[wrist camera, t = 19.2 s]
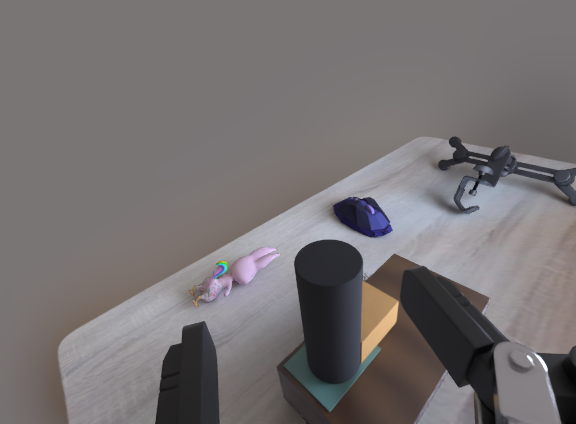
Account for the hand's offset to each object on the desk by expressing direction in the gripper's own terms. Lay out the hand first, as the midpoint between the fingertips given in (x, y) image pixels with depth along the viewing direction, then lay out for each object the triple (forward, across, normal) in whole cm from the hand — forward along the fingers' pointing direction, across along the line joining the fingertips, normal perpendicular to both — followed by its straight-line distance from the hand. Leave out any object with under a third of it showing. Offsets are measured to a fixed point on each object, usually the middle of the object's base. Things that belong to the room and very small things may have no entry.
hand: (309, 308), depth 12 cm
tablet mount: (+35, -47, +25) cm, 64 cm away
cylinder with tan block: (+10, -6, +19) cm, 22 cm away
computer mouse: (+38, -21, +26) cm, 50 cm away
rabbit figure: (+29, +5, +26) cm, 39 cm away
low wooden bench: (+10, -11, +25) cm, 29 cm away
